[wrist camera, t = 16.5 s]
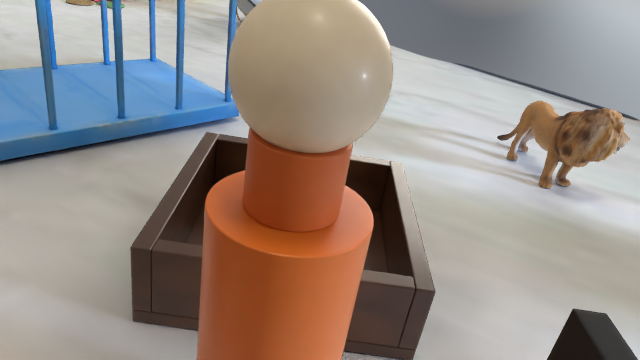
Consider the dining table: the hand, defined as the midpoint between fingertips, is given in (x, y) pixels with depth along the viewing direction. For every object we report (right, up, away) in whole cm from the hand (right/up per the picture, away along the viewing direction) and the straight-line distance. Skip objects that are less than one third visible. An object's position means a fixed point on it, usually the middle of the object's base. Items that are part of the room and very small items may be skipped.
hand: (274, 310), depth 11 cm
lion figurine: (+25, +4, +42) cm, 49 cm away
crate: (-1, -2, +21) cm, 22 cm away
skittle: (-2, -8, +9) cm, 13 cm away
